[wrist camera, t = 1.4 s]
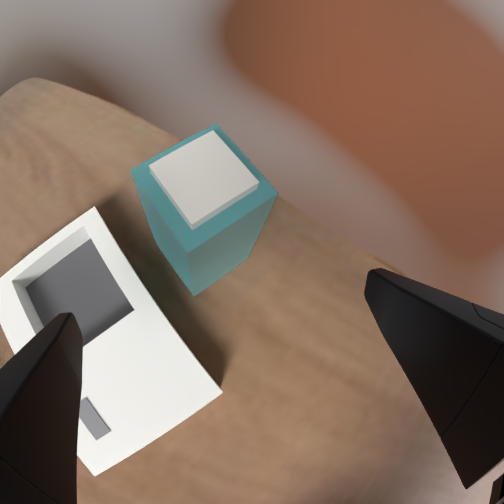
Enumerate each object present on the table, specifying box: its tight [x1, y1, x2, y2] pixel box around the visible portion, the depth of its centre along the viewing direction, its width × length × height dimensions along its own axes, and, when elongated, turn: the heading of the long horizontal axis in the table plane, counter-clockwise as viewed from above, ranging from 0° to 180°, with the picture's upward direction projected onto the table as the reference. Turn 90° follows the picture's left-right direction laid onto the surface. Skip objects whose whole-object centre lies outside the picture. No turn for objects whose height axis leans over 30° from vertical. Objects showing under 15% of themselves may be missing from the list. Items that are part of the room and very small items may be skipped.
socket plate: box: [0, 206, 223, 476], centre depth 18 cm, size 14×10×3 cm
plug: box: [131, 124, 278, 297], centre depth 17 cm, size 4×4×10 cm
